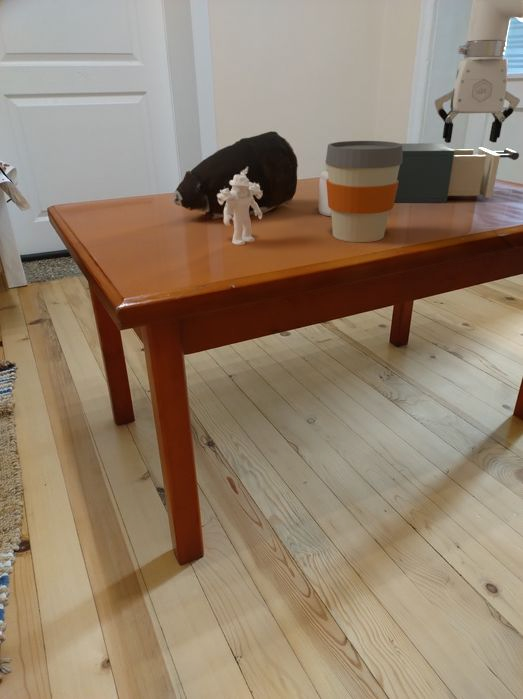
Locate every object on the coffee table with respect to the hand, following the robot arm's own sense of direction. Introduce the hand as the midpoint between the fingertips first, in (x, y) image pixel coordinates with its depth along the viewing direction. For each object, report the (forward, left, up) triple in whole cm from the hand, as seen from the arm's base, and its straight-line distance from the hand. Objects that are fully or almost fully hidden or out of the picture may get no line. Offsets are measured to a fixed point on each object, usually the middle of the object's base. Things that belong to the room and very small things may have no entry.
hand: (469, 141), depth 112 cm
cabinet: (+13, 0, -12) cm, 17 cm away
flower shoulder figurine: (+46, +39, -12) cm, 61 cm away
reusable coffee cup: (+26, +34, -12) cm, 44 cm away
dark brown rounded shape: (+51, +18, -12) cm, 55 cm away
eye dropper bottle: (+31, +18, -12) cm, 37 cm away
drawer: (0, 0, -11) cm, 11 cm away
